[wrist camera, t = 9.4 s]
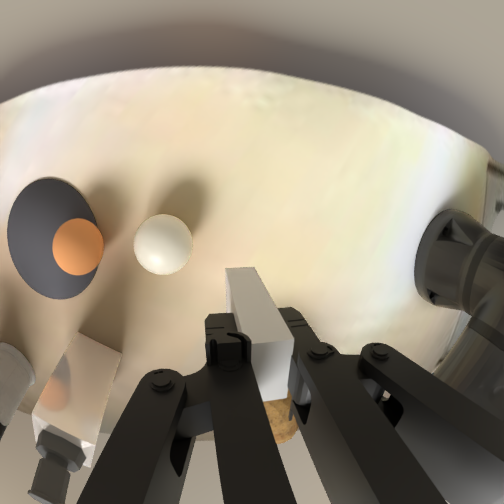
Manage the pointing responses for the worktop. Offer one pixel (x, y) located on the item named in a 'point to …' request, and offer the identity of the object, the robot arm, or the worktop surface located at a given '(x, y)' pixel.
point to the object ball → (78, 246)
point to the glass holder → (12, 382)
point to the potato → (281, 418)
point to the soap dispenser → (71, 415)
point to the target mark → (45, 236)
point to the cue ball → (163, 244)
